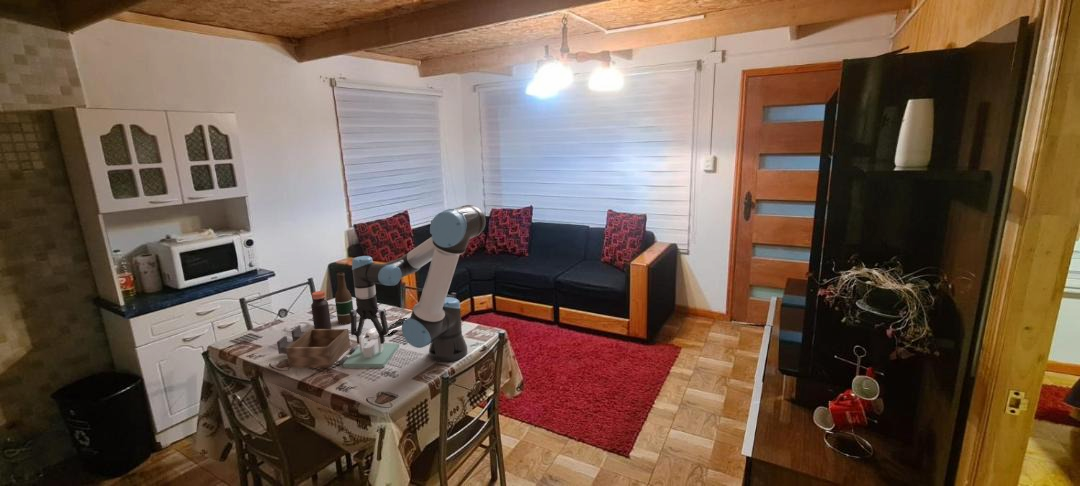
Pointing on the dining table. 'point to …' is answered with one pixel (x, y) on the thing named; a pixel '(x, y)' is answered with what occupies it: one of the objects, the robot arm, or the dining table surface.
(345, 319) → the beer bottle
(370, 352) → the door
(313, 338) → the cabinet
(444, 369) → the dining table surface
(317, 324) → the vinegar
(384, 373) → the dining table surface
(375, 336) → the door handle
